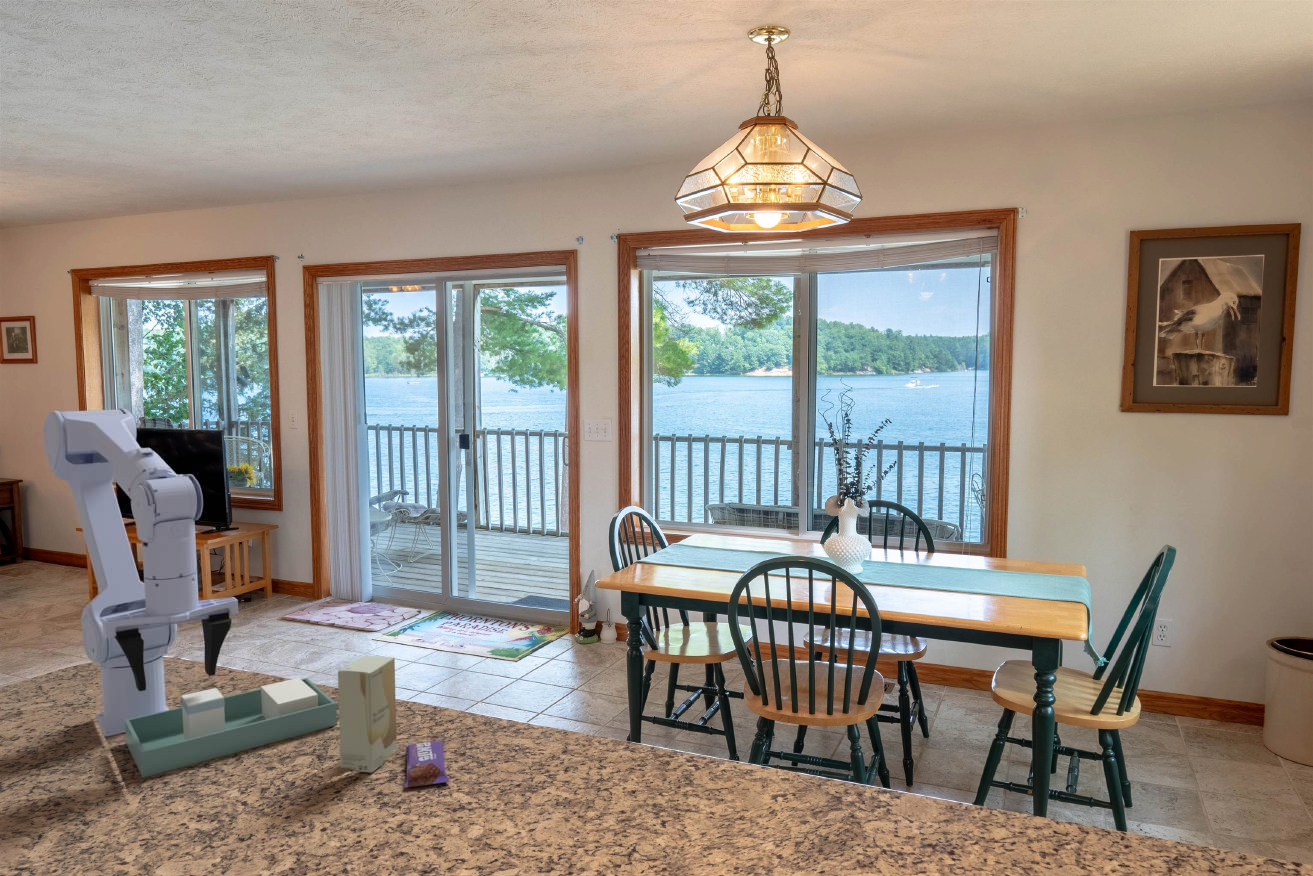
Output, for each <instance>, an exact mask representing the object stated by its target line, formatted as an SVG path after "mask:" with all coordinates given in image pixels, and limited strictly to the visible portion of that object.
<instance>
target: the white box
mask: <svg viewBox="0 0 1313 876" xmlns="http://www.w3.org/2000/svg"><path fill="white" fill-rule="evenodd" d="M260 689H261V699H262V715H263V716H264V717H265V718H266V719H270V718H274V717H278V716H282V715H286V714H290V713H294V712H298V711H302V710H306V709H310V708H314V707H318V694H317V693H316V692H314V691H313V690H312V689H311V688H310V687H309V686H308V685H306V684H305V683H304V682H303V681H302V680H301V678H300V677H297V678H292V679H288V680H284V681H278V682H275V683H270V684H266V685H261V686H260Z"/></svg>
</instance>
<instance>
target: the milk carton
mask: <svg viewBox="0 0 1313 876" xmlns="http://www.w3.org/2000/svg"><path fill="white" fill-rule="evenodd" d="M224 697H225V696H223V694H222V693H221V691H219V689H218V688H217V687H214V688H211V689H210V688H209V689H207V690H206V689H205V690H201V691H197V692H196V691H195V692H192V693H191V692H190V693H189V694H188V693H187V694H183V695H181V697H180V700H181V707H182V713H183V732H184V740H188V739H192V738H196V737H200V736H204V735H207V734H211V733H215V732H219V731H223V730H225V713H224V706H225V702H224Z"/></svg>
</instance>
